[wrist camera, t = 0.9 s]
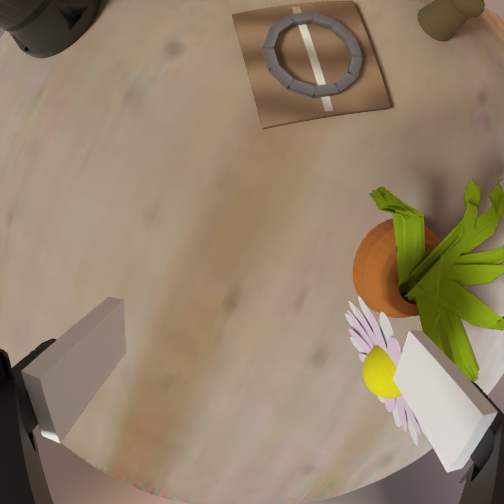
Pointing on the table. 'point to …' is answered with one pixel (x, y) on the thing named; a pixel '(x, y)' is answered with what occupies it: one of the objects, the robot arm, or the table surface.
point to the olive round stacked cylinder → (447, 16)
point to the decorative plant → (422, 290)
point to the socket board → (309, 62)
